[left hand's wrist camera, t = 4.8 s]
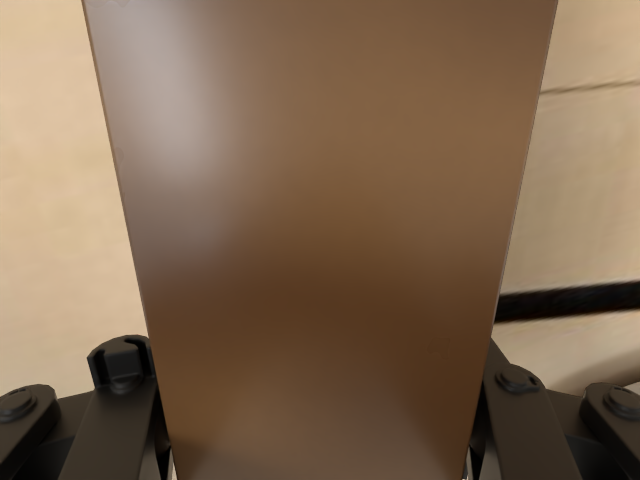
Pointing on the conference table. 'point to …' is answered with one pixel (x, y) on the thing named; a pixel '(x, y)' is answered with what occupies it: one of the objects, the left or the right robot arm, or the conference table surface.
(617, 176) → the conference table surface
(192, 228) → the bar
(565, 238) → the conference table surface
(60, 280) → the conference table surface
